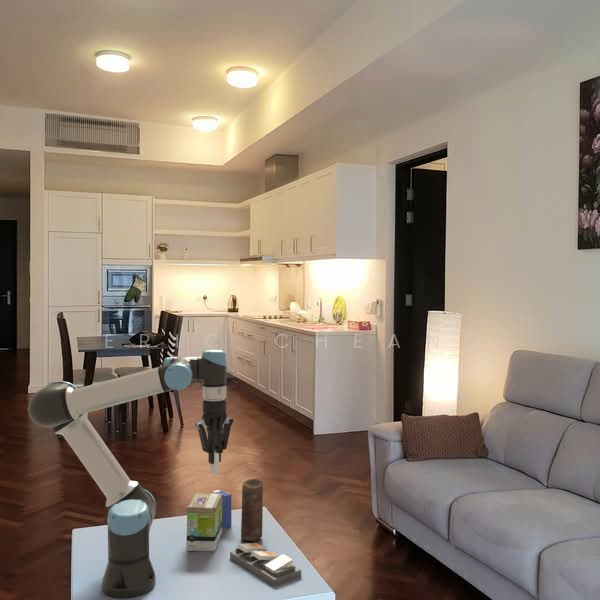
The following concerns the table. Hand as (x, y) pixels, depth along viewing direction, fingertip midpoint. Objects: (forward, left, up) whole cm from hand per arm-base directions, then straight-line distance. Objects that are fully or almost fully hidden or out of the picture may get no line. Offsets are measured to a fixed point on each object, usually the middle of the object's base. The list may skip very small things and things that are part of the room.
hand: (214, 473), depth 200 cm
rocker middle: (+10, -13, -25) cm, 30 cm away
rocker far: (+10, -6, -25) cm, 27 cm away
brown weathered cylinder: (+19, +7, -29) cm, 35 cm away
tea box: (+5, +15, -29) cm, 33 cm away
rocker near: (+10, -20, -25) cm, 34 cm away
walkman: (+18, +25, -29) cm, 42 cm away
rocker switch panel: (+10, -13, -28) cm, 33 cm away
